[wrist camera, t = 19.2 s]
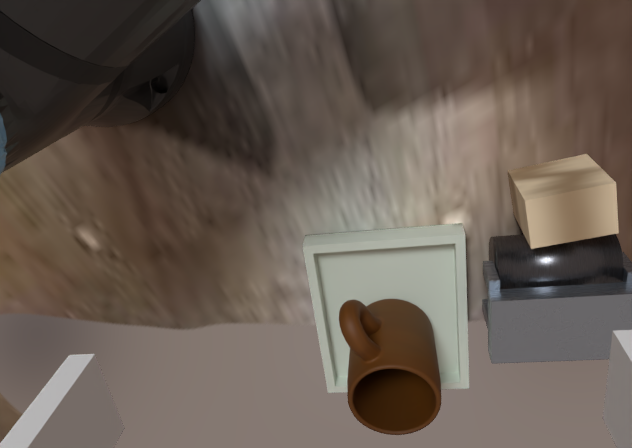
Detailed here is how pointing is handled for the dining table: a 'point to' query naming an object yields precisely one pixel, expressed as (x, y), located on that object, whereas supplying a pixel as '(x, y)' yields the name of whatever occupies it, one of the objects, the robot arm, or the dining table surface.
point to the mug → (391, 365)
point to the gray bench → (555, 299)
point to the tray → (392, 289)
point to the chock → (563, 201)
